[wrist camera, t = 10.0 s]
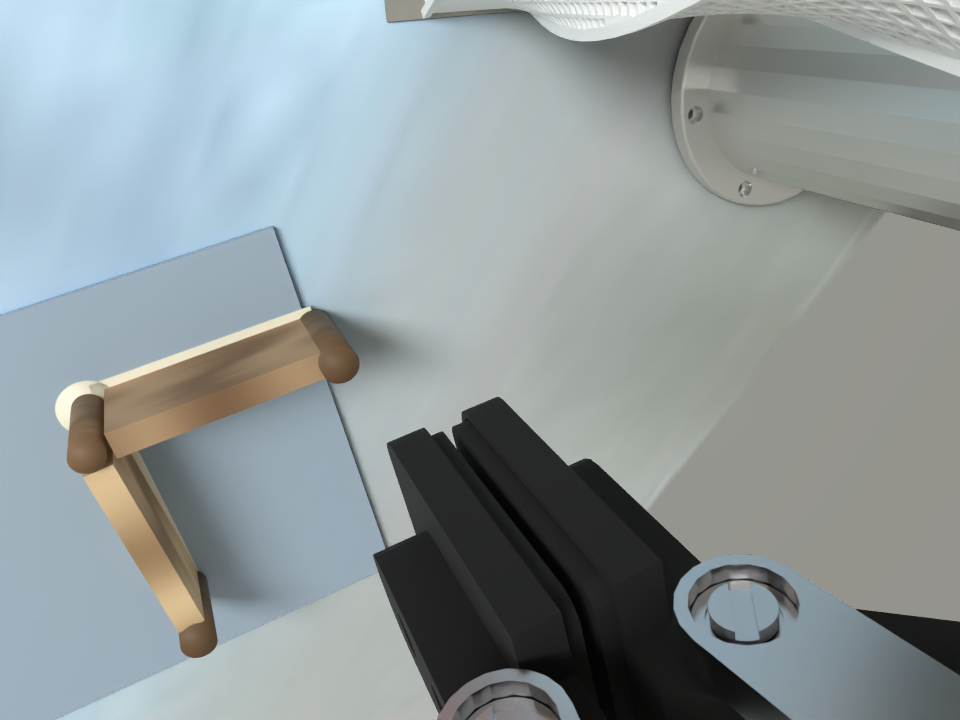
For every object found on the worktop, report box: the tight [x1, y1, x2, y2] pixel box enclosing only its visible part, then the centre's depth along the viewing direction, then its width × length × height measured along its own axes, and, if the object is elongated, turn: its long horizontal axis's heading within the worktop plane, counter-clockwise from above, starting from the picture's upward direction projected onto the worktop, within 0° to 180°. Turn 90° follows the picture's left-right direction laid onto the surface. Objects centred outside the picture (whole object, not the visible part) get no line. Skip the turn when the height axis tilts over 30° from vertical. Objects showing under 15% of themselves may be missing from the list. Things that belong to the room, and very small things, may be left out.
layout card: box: [0, 226, 386, 720], centre depth 38 cm, size 20×20×1 cm
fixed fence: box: [67, 309, 359, 474], centre depth 34 cm, size 12×2×5 cm, turn 103°
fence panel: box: [83, 441, 218, 658], centre depth 36 cm, size 10×2×4 cm, turn 15°
